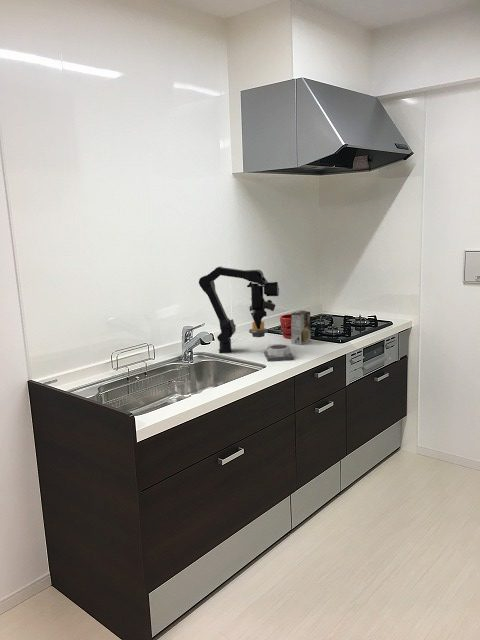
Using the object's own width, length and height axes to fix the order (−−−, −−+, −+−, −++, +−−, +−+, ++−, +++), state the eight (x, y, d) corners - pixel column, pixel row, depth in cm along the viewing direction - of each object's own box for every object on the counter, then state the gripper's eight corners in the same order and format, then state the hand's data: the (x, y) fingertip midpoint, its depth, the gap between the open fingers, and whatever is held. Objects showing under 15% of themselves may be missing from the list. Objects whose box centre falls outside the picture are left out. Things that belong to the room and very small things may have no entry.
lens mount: (264, 354, 259) (264, 344, 258) (289, 353, 260) (289, 343, 259) (267, 361, 247) (267, 350, 246) (293, 359, 248) (293, 349, 247)
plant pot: (283, 334, 303) (283, 313, 301) (307, 335, 299) (306, 313, 296) (277, 339, 291) (277, 317, 289) (301, 340, 287) (301, 318, 284)
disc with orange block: (248, 334, 267) (247, 320, 266) (266, 333, 268) (266, 319, 267) (250, 338, 258) (249, 323, 257) (268, 337, 259) (268, 323, 258)
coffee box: (300, 340, 287) (300, 310, 284) (311, 341, 283) (310, 311, 280) (291, 343, 280) (290, 313, 277) (301, 345, 276) (301, 314, 273)
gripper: (276, 298, 251) (277, 331, 254) (271, 292, 269) (271, 323, 272) (253, 299, 250) (254, 332, 253) (248, 293, 268) (249, 324, 271)
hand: (258, 328), depth 262 cm, fingers closed on disc with orange block, 2 cm apart
